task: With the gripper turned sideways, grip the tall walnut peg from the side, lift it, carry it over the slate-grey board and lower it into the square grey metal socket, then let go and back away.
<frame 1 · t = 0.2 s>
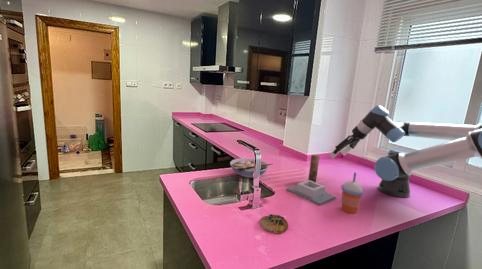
hand: (337, 155, 149), 15 cm above the countertop, tool tilted 35°, fingers open, 13 cm apart
socket: (310, 194, 128), on the countertop
peg: (311, 182, 145), on the countertop
cup with straw: (348, 210, 114), on the countertop
ramen bowl: (248, 176, 148), on the countertop
bread roll: (273, 227, 97), on the countertop
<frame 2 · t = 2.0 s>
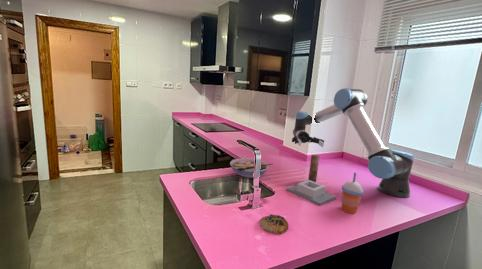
hand: (311, 144, 150), 20 cm above the countertop, tool horizontal, fingers open, 13 cm apart
nothing on the countertop moved.
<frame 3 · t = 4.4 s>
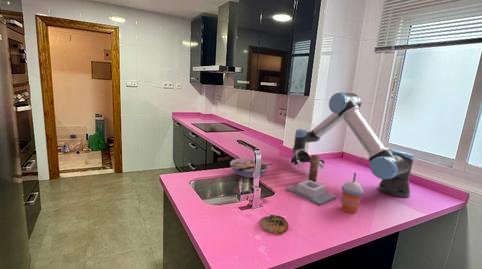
hand: (311, 165, 146), 9 cm above the countertop, tool horizontal, fingers open, 13 cm apart
nothing on the countertop moved.
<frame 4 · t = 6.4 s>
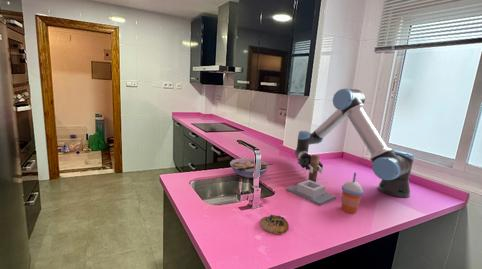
hand: (316, 170, 138), 9 cm above the countertop, tool horizontal, fingers closed on peg, 4 cm apart
peg: (311, 182, 145), on the countertop, touching gripper
everything else where it was.
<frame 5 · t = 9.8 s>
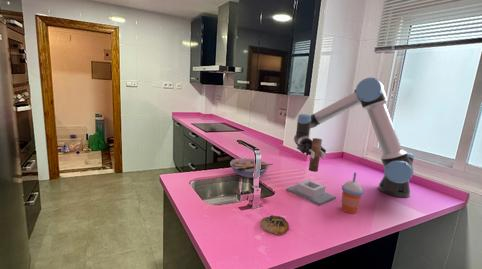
hand: (318, 155, 119), 22 cm above the countertop, tool horizontal, fingers closed on peg, 4 cm apart
peg: (313, 170, 126), point 13 cm above the countertop, touching gripper
everything else where it was.
when the fingers open (11 cm above the countertop, at t = 13.0 s): peg stays where it is, resting on socket.
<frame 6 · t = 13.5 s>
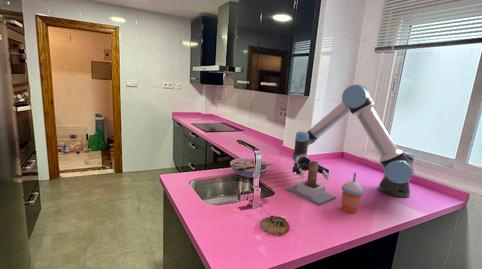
hand: (315, 176, 122), 11 cm above the countertop, tool horizontal, fingers open, 11 cm apart
peg: (310, 192, 128), point 1 cm above the countertop, touching socket
everything else where it was.
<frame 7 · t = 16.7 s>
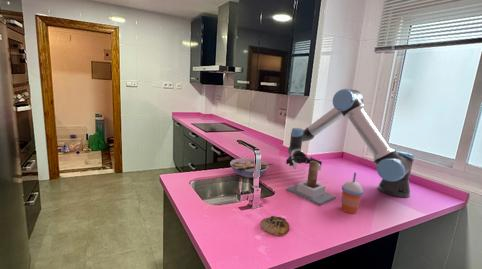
hand: (307, 167, 136), 11 cm above the countertop, tool horizontal, fingers open, 13 cm apart
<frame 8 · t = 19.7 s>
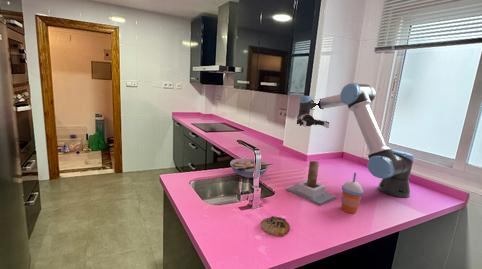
hand: (316, 125, 148), 32 cm above the countertop, tool horizontal, fingers open, 13 cm apart
at the end: peg 0.0 cm off-centre on the socket, point 1.2 cm above the socket's base; peg tilted 1°; the gripper is holding nothing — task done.
